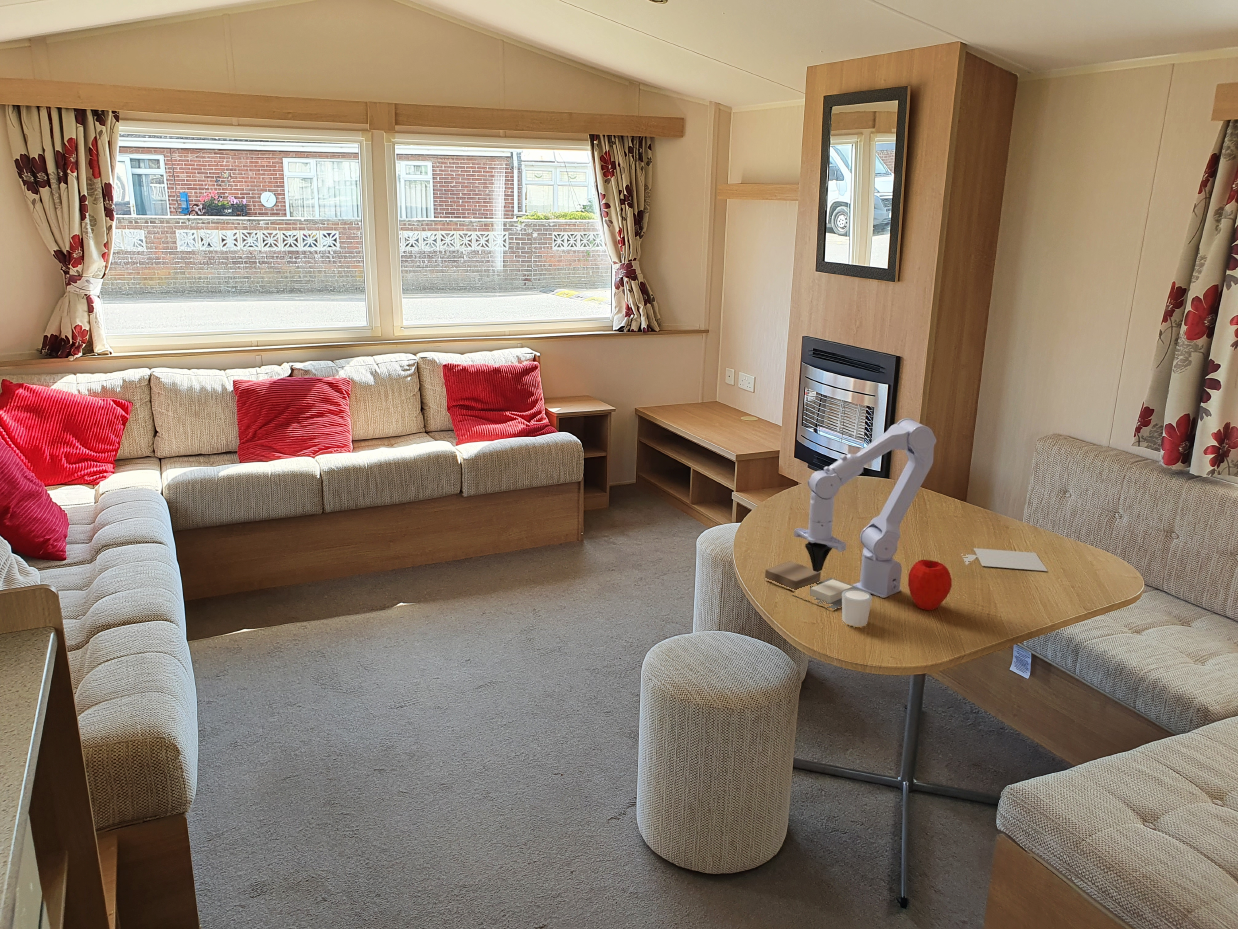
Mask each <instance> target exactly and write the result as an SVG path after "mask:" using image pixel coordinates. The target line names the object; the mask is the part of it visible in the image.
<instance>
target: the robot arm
mask: <svg viewBox="0 0 1238 929" xmlns="http://www.w3.org/2000/svg"><path fill="white" fill-rule="evenodd" d="M936 444H937V438H936V436H935V434H934V432H933V430H932V428H930V427H929V426H926V425H923V424H921V423H919V422H917V421H916V420H914V419H913V418H910V417H909V418H903V419H900V420H899V421H898V422H896V423H894V424H892V425H891V426H890V427H889V428H888V429H887V430H886V431H885V432H884V433H883V434H881V435H880V436H878V437H877V438H876V439H875V440H873V441H872V442H871V443H869V444H868V445H866V446H865V447H863V448H862V449H861V450H860V451H859V452H857V453H856V454H855V453H847V454H845V453H844V454H841V455H840V456H839V459H838V460H836V461H834V462H833V463H832V464H831V465H829V466H824V467H823V470H816V471H815V472H813V473H812V474H811V476H810V477H809V480H807V486H808V488H809V489H810V500H809V501H810V502H809V512H808V513H809V514H808V515H809V517H808V529H805V528H803V527H802V528H801V527H798V528H795V529H794V530H793V536H794V538H801V539H804V540H806V541H807V543H805V545H804V548H805V549H806V551H807V553H808V555H809V559H810V563H811V566H812V568H811V569H813V571H815V572H821V571H823V567H824V566H825V565H824V564H825V562H826V560H827V557H829V554H830V552H831V551H832V549H834V550H837V552H839V553H841V552H845V551H846V549H847V542H844V541H842V540H840V539H839V538H838V537H835V536H833V535H832V534H833V520H834V506H835V497H836V496H837V494H838V493H839V490H840V489H841V487H843V486H844V485H846V484H847V483H849V482H850V481H852V480H853V479H854V478H856V477H858V476H860V474H862V473H863V472H864V467H865V466H866V465H868V464H870V463H871V462H873V461H874V460H877V459H878V458H880V457H881V456H883V455H885V454H887V453H888V452H891V451H892V450H896V451H897V450H899V451H905V454H906V456H907V459H908V461H907V463H906V464H905V467H904V469H903V470H902V472H901V474H900V476H899V478H898V480H897V481H896V483H895V485H894V487H893V489H892V491H891V493H890V495H889V497H888V498H887V500H886V502H885V504H884V506H883V508H882V509H881V511H880V513H879V515H877V516H875V517H873V518H872V519H871V521H870V522H869V523H868V525H867V526H865V527H864V528H862V530H861V531H860V534H859V540H860V543H861V545H862V546H863V550H862V555H861V556H862V557H861V568H860V569H861V570H860V577H859V578H860V579H859V580H860V581H858V582H857V583H853V584H852V586H855V587H858V588H860V589H863V590H866V591H869V592H871V593H872V595H874V596H877V597H879V596H880V598H882V599H884V598H888V597H890V596H892V595H894V594H896V593H898V592H901V591H902V588H901V579H902V564H901V563H900V562H899V561H897V560H895V559H894V557H895V555H896V554H897V552H898V547H899V546H898V544H899V541H900V539H901V528H900V525H901V524H902V522H903V520H904V518H905V516H906V515H907V513H908V511H909V509H910V507H911V505H912V503H913V502H914V499H915V497H916V496H917V493H918V492H919V490H920V488H921V486H922V484H923V482H924V481H925V479H926V477H927V475H928V473H929V472H930V470H931V468H932V466H933V463H934V452H935V450H934V449H935V445H936Z"/></svg>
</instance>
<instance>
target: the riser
mask: <svg viewBox="0 0 1238 929" xmlns="http://www.w3.org/2000/svg"><path fill="white" fill-rule="evenodd" d="M821 573H822V572H821V571H819V572H815V571H813V568H811V567H808V566H805V565H803V564H800V563H798V562H794V561H791V560H788V561H786V562H783V563H780V564H779V565H778V564H777V565H774V566H772V567H769V568H766V569H765V573H764V574H765V575H764V579H765V578H767V579H769V580H772V581H775V582H777V583H779V584H781V585H784V586H786V587H789V588H791V589H794V590H797V589H799V588H802V587H805V586H808V585H811V584H814V583H817V582H819V581H820V582H821Z"/></svg>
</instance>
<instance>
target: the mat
mask: <svg viewBox="0 0 1238 929" xmlns="http://www.w3.org/2000/svg"><path fill="white" fill-rule="evenodd" d="M832 579H833V580H836V581H839V582H841V583H844V584H847V585H850V586H852V589H854V590H862V591H865V592H868V593H869V594H872V593H871V592H869V591H866V590H863V589H860V588H858V587H855V586H853V584H849V583H847V582H844V581H841V580H838V579H836V578H832V577H829V578H826V579H824V580H820V582H819V583H816V584H817V585H820V584H822V583H825V582H827V581H830V580H832ZM812 587H813V586H812ZM812 587H811V586H810V588H812ZM872 595H873V594H872ZM814 600H820V599H818V598H816V599H814ZM822 601H823V600H822ZM822 601H821V600H820V601H819V602H817V603H818V604H819V603H820V602H821V603H822V604H823V602H824V601H823V602H822ZM821 603H820V604H821ZM824 603H825V602H824ZM826 604H833V605H831V606H829V607H827V608H832V609H835V608H838V607H841V606H842V598H841V599H839V600H836V601H834V602H831V603H827V602H826ZM823 605H824V604H823Z"/></svg>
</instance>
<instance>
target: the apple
mask: <svg viewBox="0 0 1238 929" xmlns="http://www.w3.org/2000/svg"><path fill="white" fill-rule="evenodd" d="M907 580H908V581H907V582H908V584H907V585H908V590H909V593H910V596H911V598H912V601H913V602H914V604H915V605H916V606H917V607H918V608H920V609H922V610H927V611H933V610H936V609H938V608H939V607H940V605H941V604H942V603H944V601H945V600H946V599H947V597H948V595H949V594H950V592H951V589H952V582H953V580H952V577H951V572H950V571H949V569H948V567H947V566H946V565H945V564H943V563H942V562H939V561H936V560H932V559H931V560H930V559H920V560H918V561H916V562H915V563H914V564H913V566H912V567H911V568H910V570H909V572H908V579H907Z"/></svg>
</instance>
